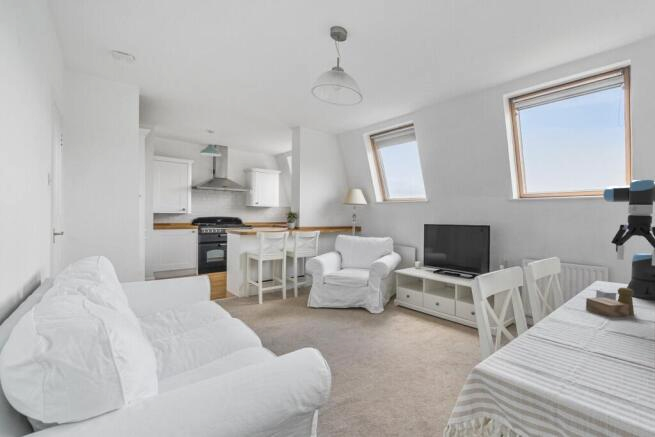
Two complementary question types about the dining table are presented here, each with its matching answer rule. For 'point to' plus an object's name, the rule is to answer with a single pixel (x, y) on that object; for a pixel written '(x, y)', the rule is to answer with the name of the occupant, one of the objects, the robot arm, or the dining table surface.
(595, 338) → the dining table surface
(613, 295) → the slate block
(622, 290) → the cork
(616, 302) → the walnut block
